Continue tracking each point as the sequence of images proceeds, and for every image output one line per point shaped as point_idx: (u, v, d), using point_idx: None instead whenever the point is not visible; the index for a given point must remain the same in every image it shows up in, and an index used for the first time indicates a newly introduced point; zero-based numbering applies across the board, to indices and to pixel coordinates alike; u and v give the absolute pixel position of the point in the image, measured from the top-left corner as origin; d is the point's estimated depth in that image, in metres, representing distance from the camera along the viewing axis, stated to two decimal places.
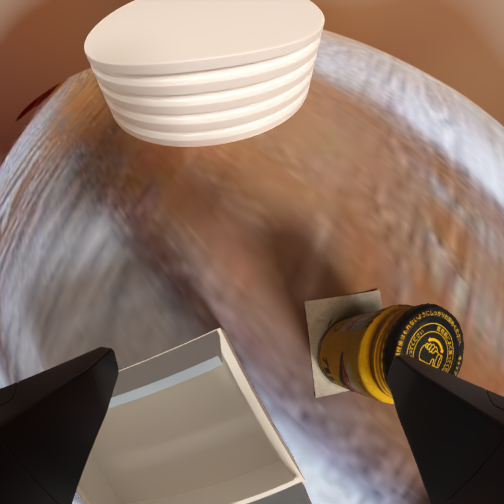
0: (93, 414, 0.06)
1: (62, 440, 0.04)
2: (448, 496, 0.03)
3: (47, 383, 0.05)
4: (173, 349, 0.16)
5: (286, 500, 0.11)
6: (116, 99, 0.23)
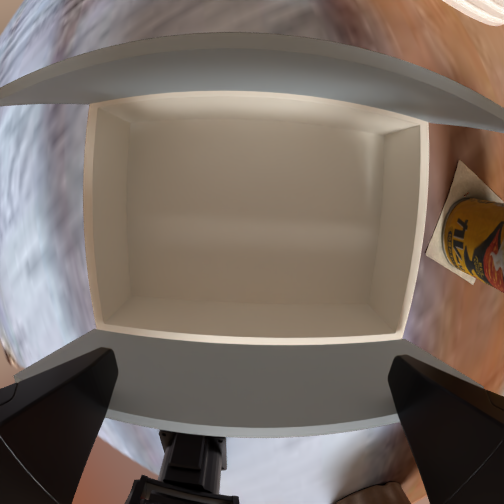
0: (93, 414, 0.06)
1: (62, 440, 0.04)
2: (448, 496, 0.03)
3: (47, 383, 0.05)
4: None
5: None
6: None
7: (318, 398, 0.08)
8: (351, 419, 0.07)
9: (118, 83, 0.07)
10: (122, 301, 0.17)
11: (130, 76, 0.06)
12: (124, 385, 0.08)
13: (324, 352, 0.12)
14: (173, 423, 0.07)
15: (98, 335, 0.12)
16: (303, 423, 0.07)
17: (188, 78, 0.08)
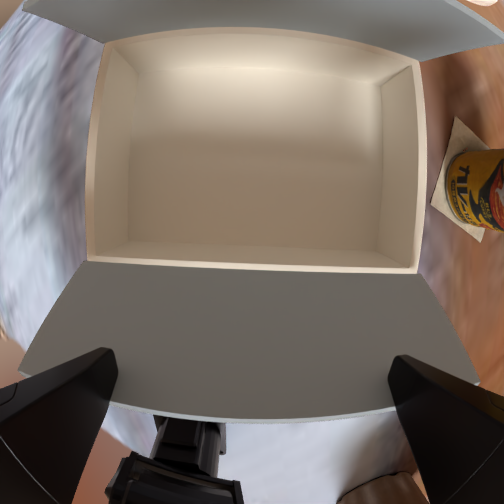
0: (93, 414, 0.06)
1: (62, 440, 0.04)
2: (448, 496, 0.03)
3: (47, 383, 0.05)
4: None
5: (421, 305, 0.11)
6: None
7: (322, 373, 0.08)
8: (349, 410, 0.07)
9: (141, 1, 0.07)
10: (118, 242, 0.16)
11: None
12: (121, 360, 0.08)
13: (334, 289, 0.12)
14: (175, 415, 0.07)
15: (89, 272, 0.12)
16: (302, 412, 0.07)
17: None
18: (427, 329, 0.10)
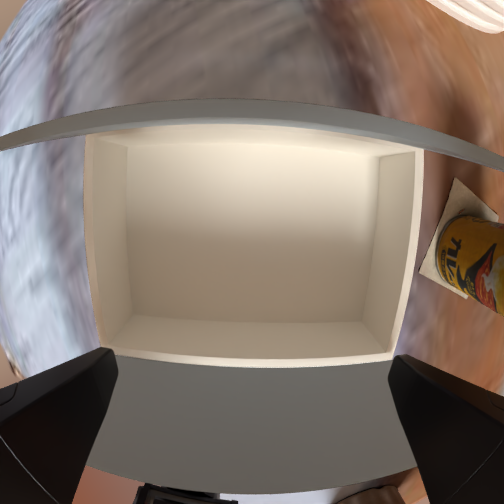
0: (93, 414, 0.06)
1: (62, 440, 0.04)
2: (448, 495, 0.03)
3: (47, 383, 0.05)
4: None
5: (386, 398, 0.12)
6: None
7: (293, 463, 0.10)
8: (308, 489, 0.09)
9: (112, 128, 0.08)
10: (125, 321, 0.17)
11: (123, 126, 0.07)
12: (152, 454, 0.10)
13: (313, 386, 0.13)
14: None
15: None
16: (277, 489, 0.09)
17: (181, 122, 0.08)
18: (384, 422, 0.11)
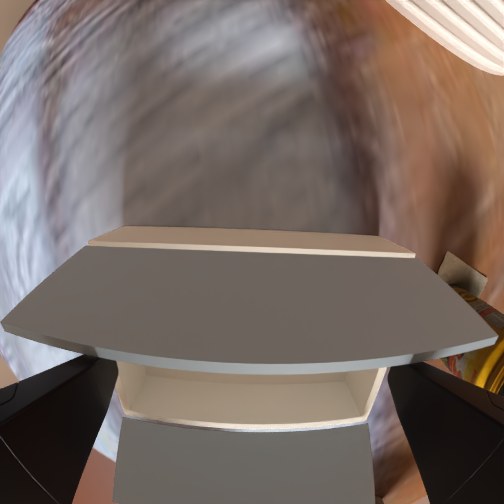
0: (93, 414, 0.06)
1: (62, 440, 0.04)
2: (448, 496, 0.03)
3: (47, 383, 0.05)
4: (371, 257, 0.13)
5: (355, 455, 0.14)
6: None
7: (278, 503, 0.12)
8: None
9: None
10: (140, 385, 0.19)
11: None
12: (174, 496, 0.12)
13: (297, 447, 0.15)
14: None
15: (131, 430, 0.15)
16: None
17: None
18: (352, 474, 0.13)
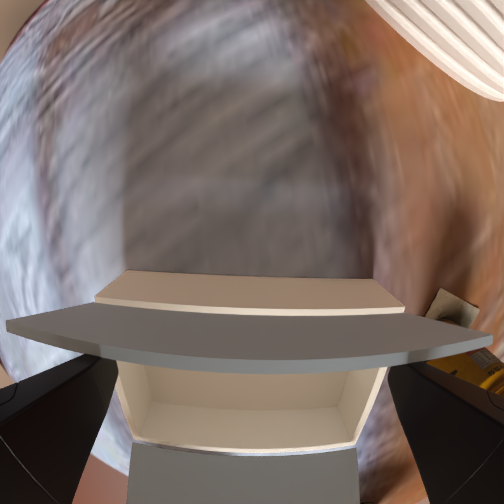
0: (93, 414, 0.06)
1: (62, 440, 0.04)
2: (448, 496, 0.03)
3: (47, 383, 0.05)
4: (360, 315, 0.14)
5: (343, 476, 0.15)
6: None
7: None
8: None
9: None
10: (147, 411, 0.20)
11: None
12: None
13: (290, 469, 0.16)
14: None
15: (140, 454, 0.16)
16: None
17: None
18: (339, 492, 0.14)
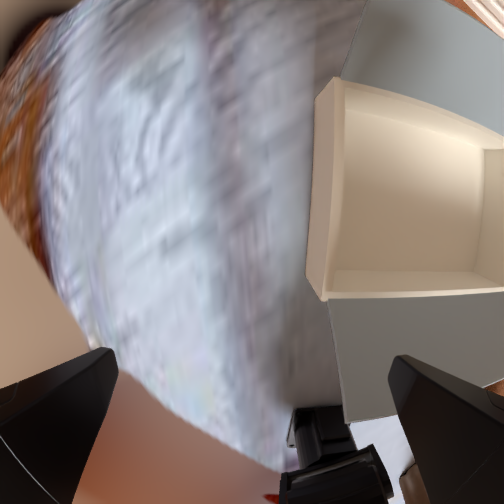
0: (93, 414, 0.06)
1: (62, 440, 0.04)
2: (448, 496, 0.03)
3: (47, 383, 0.05)
4: None
5: None
6: None
7: (492, 358, 0.11)
8: None
9: (432, 47, 0.08)
10: None
11: (450, 42, 0.08)
12: None
13: (482, 306, 0.14)
14: None
15: (345, 311, 0.14)
16: (491, 379, 0.10)
17: (459, 69, 0.09)
18: None
